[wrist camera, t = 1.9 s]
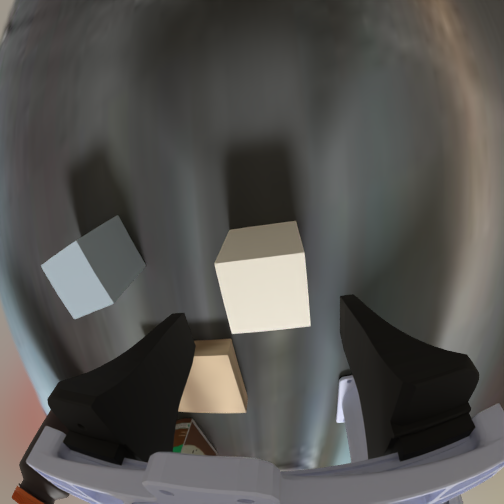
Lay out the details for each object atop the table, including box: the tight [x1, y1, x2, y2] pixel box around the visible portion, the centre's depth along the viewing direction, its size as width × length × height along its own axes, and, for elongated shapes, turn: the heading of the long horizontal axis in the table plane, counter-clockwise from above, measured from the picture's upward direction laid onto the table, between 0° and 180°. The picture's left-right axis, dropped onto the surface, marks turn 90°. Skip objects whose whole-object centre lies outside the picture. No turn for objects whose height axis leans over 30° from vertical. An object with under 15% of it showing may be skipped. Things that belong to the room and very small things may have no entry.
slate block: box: [41, 215, 146, 319], centre depth 18 cm, size 4×4×6 cm
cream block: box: [214, 221, 310, 334], centre depth 17 cm, size 4×4×6 cm
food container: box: [173, 418, 218, 456], centre depth 26 cm, size 12×6×10 cm, turn 14°
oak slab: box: [178, 339, 248, 413], centre depth 24 cm, size 8×8×2 cm
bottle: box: [12, 410, 70, 504], centre depth 21 cm, size 7×7×20 cm
